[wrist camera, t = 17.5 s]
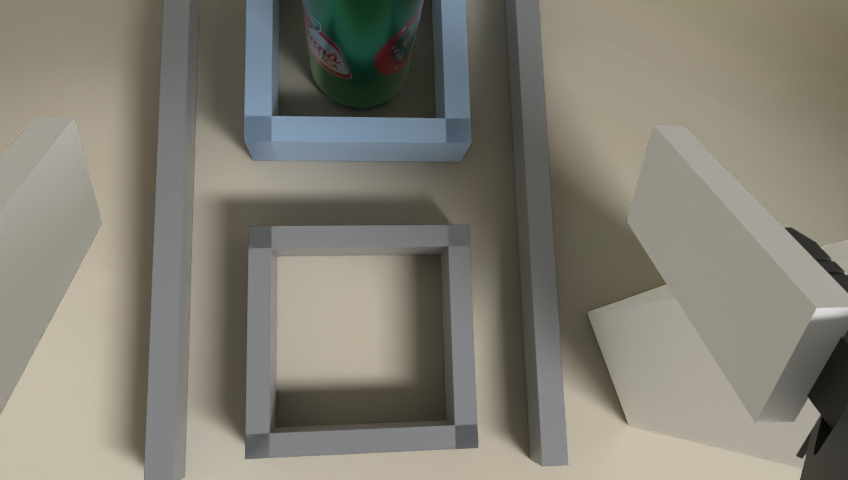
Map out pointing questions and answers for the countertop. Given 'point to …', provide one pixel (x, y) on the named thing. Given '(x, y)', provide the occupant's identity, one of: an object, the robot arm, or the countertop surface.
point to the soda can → (360, 47)
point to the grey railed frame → (352, 240)
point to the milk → (688, 378)
